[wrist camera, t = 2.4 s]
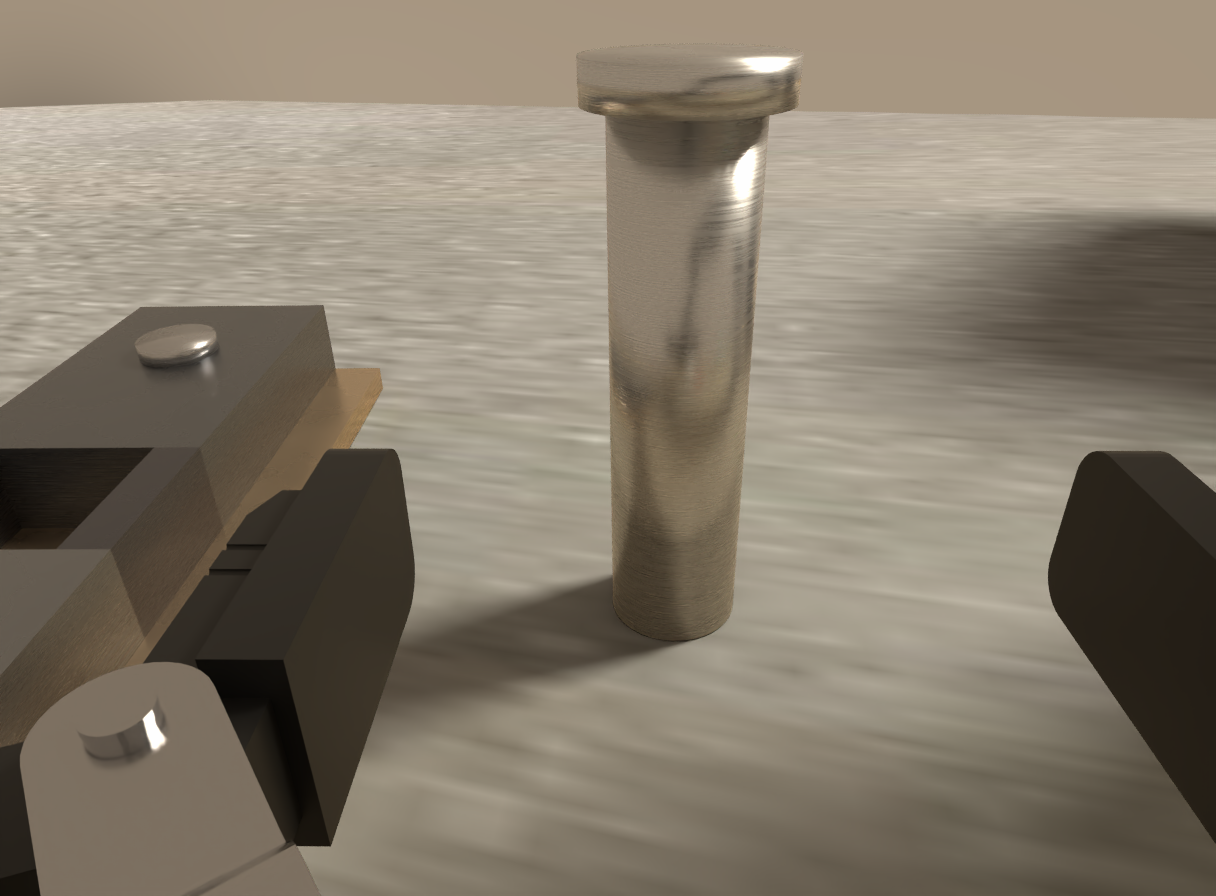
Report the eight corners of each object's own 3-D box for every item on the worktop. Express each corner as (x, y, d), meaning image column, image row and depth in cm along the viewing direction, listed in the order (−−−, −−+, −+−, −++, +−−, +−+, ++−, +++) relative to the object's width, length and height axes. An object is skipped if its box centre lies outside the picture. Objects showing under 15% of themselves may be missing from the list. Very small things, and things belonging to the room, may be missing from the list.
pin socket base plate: (122, 390, 39) (91, 294, 37) (382, 388, 39) (367, 291, 36) (-890, 1256, 13) (-1221, 1111, 11) (-112, 1266, 13) (-277, 1120, 10)
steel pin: (658, 533, 28) (667, 40, 21) (783, 592, 26) (844, 49, 18) (560, 606, 25) (529, 56, 18) (689, 681, 23) (718, 70, 15)
